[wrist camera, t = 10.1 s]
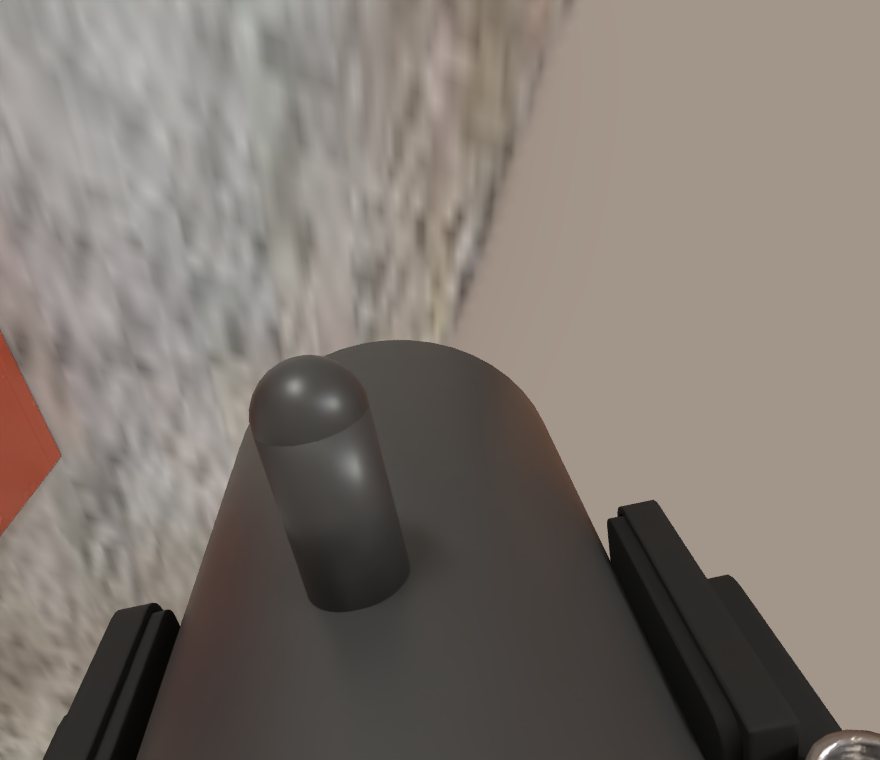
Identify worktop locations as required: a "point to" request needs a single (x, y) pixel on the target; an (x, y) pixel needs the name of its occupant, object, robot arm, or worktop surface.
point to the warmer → (20, 440)
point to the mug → (407, 584)
